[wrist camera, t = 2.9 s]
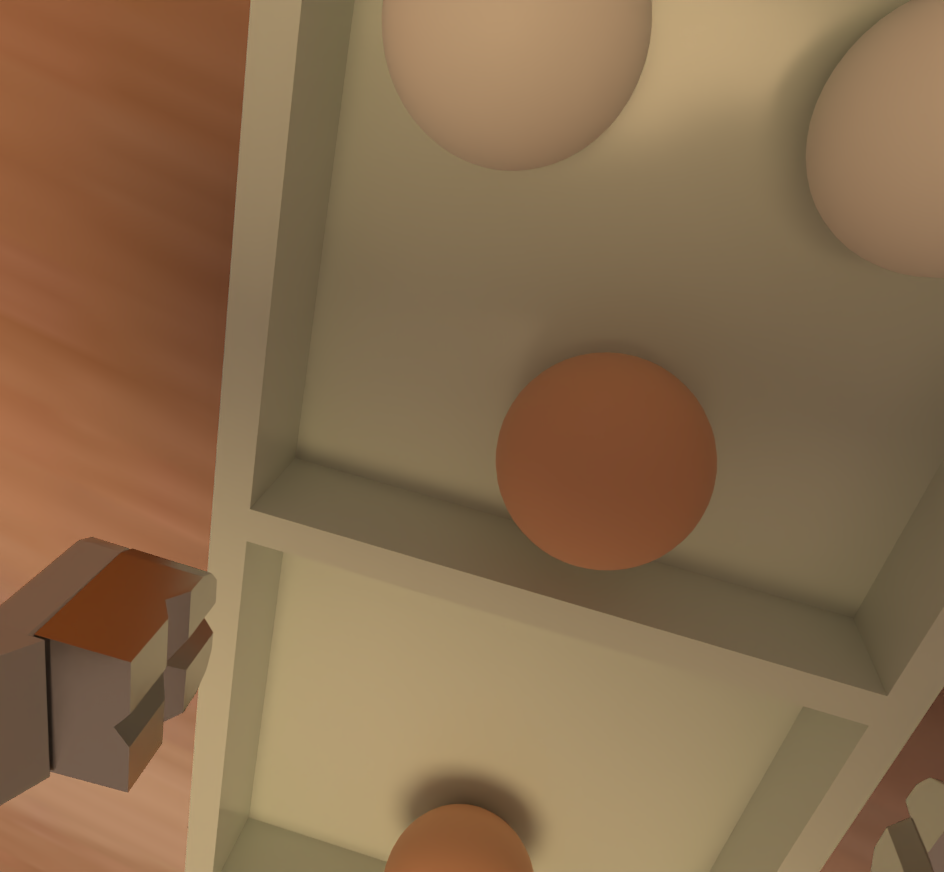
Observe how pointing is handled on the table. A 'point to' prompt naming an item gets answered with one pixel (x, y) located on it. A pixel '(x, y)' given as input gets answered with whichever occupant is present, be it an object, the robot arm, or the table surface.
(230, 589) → the twin dish
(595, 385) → the terracotta ball
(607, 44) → the ivory ball
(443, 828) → the terracotta ball
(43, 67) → the table surface
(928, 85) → the ivory ball
